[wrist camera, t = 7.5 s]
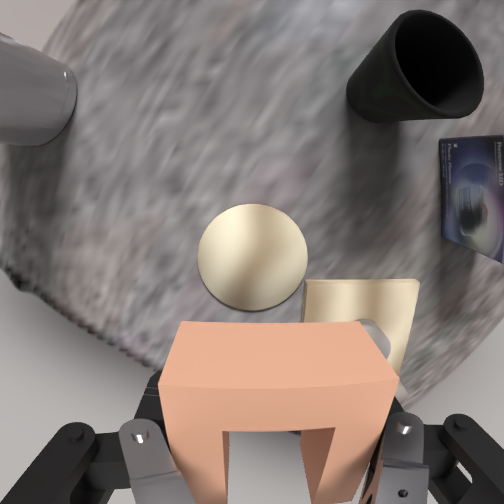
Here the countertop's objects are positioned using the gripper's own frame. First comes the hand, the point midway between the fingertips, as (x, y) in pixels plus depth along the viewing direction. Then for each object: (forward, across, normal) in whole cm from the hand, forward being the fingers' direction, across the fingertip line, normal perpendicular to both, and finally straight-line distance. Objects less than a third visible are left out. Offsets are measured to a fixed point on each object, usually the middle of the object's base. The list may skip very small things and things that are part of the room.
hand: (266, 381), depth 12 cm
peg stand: (+18, -11, +8) cm, 23 cm away
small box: (+19, -22, -8) cm, 30 cm away
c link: (-1, 0, 0) cm, 1 cm away
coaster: (+18, 0, 0) cm, 18 cm away
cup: (+19, -11, -16) cm, 27 cm away
